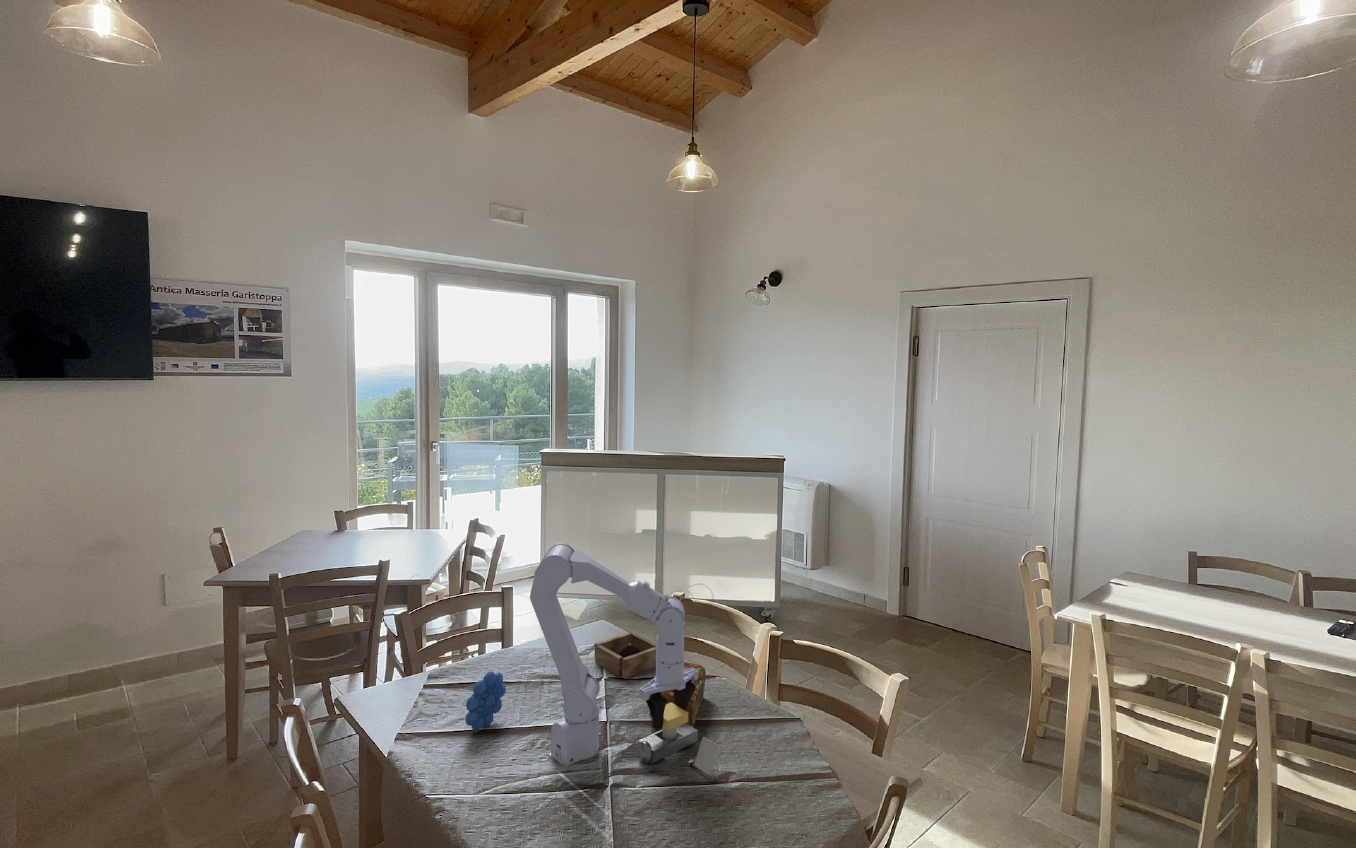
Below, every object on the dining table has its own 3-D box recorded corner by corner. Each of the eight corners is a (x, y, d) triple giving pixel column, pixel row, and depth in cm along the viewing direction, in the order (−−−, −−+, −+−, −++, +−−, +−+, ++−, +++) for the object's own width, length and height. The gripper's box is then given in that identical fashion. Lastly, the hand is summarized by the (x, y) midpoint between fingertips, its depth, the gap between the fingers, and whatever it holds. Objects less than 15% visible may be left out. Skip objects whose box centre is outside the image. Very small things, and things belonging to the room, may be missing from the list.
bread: (693, 737, 150) (694, 693, 149) (646, 731, 152) (647, 688, 151) (706, 696, 169) (707, 657, 168) (664, 692, 171) (664, 653, 170)
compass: (632, 657, 190) (632, 632, 189) (641, 670, 182) (641, 643, 182) (604, 661, 187) (604, 635, 186) (611, 674, 180) (612, 647, 179)
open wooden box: (622, 679, 177) (623, 660, 176) (592, 661, 186) (592, 644, 186) (662, 664, 186) (662, 646, 185) (631, 648, 195) (631, 631, 195)
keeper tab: (712, 781, 133) (709, 781, 133) (692, 768, 138) (689, 768, 137) (723, 747, 135) (720, 747, 134) (703, 735, 139) (700, 735, 138)
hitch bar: (688, 801, 128) (689, 774, 128) (635, 763, 140) (635, 738, 140) (735, 774, 137) (736, 749, 136) (681, 740, 149) (681, 717, 148)
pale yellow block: (667, 747, 138) (668, 721, 138) (651, 735, 142) (651, 710, 142) (687, 738, 142) (688, 712, 141) (670, 727, 146) (671, 702, 145)
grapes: (490, 709, 160) (490, 660, 159) (512, 717, 157) (512, 666, 156) (452, 733, 150) (451, 680, 149) (475, 741, 147) (474, 687, 146)
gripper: (655, 675, 133) (654, 742, 134) (708, 655, 143) (707, 717, 144) (632, 663, 138) (632, 727, 139) (685, 644, 148) (684, 704, 149)
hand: (668, 721), depth 142 cm, fingers closed on pale yellow block, 5 cm apart
